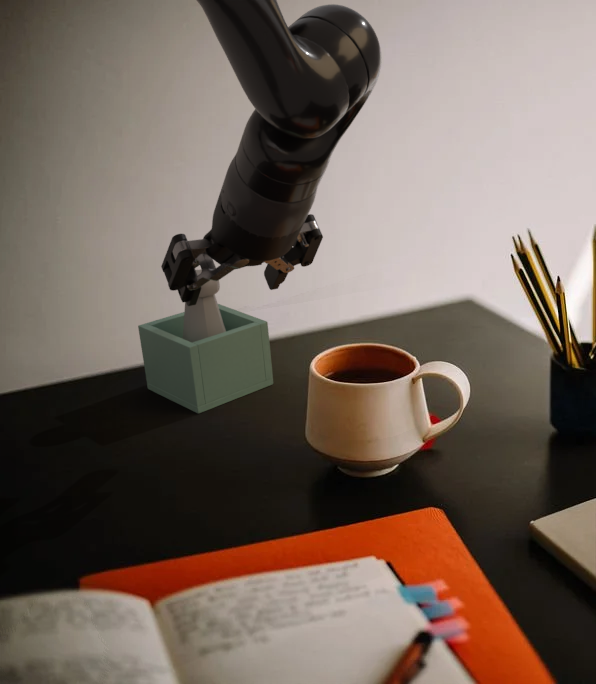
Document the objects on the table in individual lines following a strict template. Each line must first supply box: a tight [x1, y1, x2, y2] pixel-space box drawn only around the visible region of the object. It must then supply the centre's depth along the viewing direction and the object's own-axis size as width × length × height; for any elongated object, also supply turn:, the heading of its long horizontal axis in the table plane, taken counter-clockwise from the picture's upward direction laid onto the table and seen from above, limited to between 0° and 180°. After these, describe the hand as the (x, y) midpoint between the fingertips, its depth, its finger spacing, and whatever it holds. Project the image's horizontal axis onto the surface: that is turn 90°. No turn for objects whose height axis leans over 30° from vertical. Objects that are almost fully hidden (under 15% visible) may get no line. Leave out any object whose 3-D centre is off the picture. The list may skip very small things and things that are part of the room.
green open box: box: [137, 303, 274, 415], centre depth 103 cm, size 10×10×8 cm
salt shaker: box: [183, 269, 226, 343], centre depth 101 cm, size 6×6×13 cm
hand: (229, 289), depth 91 cm, fingers open, 8 cm apart
